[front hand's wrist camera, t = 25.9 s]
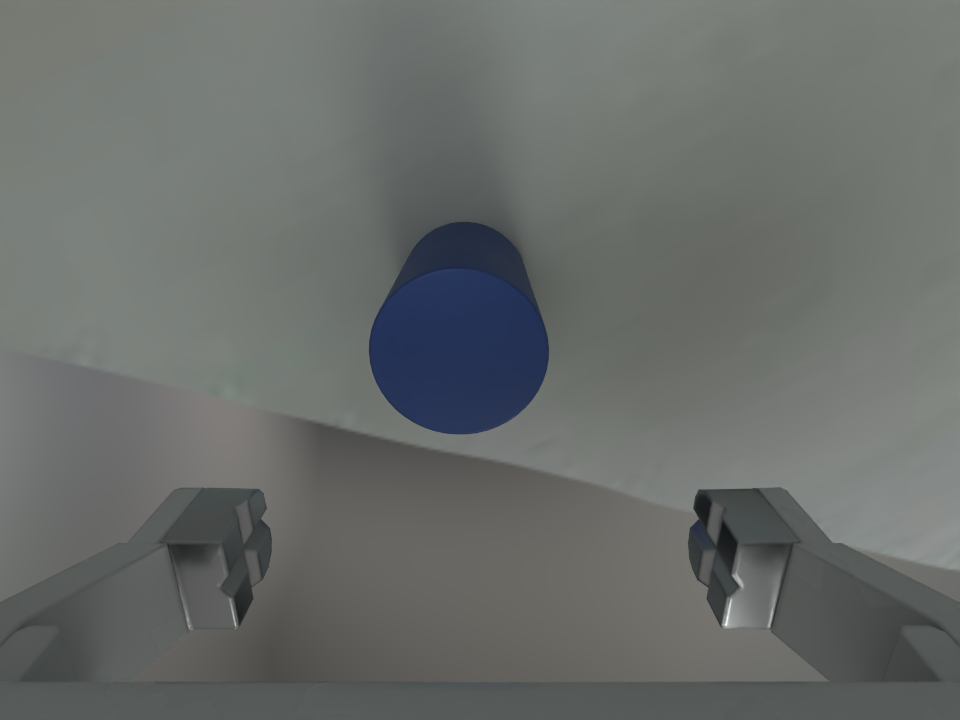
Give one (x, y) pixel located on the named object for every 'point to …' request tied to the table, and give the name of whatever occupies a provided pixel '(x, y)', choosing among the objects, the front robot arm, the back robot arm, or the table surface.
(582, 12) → the table surface
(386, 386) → the can
